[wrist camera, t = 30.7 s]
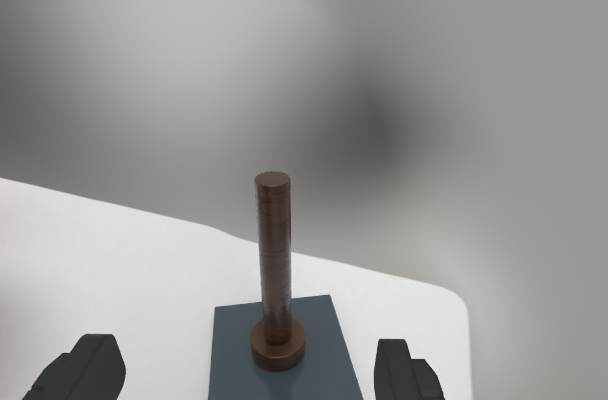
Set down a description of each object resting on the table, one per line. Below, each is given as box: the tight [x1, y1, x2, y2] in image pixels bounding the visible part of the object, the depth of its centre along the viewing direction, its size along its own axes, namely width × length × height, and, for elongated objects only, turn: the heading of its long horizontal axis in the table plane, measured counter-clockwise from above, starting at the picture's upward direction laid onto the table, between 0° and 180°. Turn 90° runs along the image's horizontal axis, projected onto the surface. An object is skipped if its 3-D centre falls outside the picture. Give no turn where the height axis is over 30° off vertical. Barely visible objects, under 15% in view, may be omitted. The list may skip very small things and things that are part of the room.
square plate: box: [208, 295, 363, 400], centre depth 27 cm, size 10×10×1 cm
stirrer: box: [250, 172, 305, 372], centre depth 24 cm, size 4×4×14 cm
